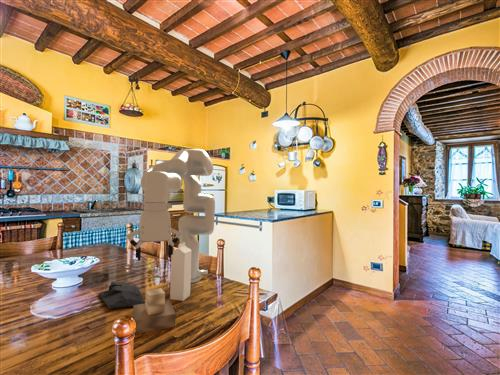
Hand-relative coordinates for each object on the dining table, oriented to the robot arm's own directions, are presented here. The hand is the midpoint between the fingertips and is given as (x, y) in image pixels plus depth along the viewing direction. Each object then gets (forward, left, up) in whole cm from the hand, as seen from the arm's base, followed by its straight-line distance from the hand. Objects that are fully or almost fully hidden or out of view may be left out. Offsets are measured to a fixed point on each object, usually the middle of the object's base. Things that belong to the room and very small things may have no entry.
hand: (154, 258), depth 87 cm
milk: (-12, -15, -21) cm, 29 cm away
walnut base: (0, +2, -20) cm, 20 cm away
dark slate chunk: (+9, -23, -21) cm, 33 cm away
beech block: (0, +2, -16) cm, 17 cm away
